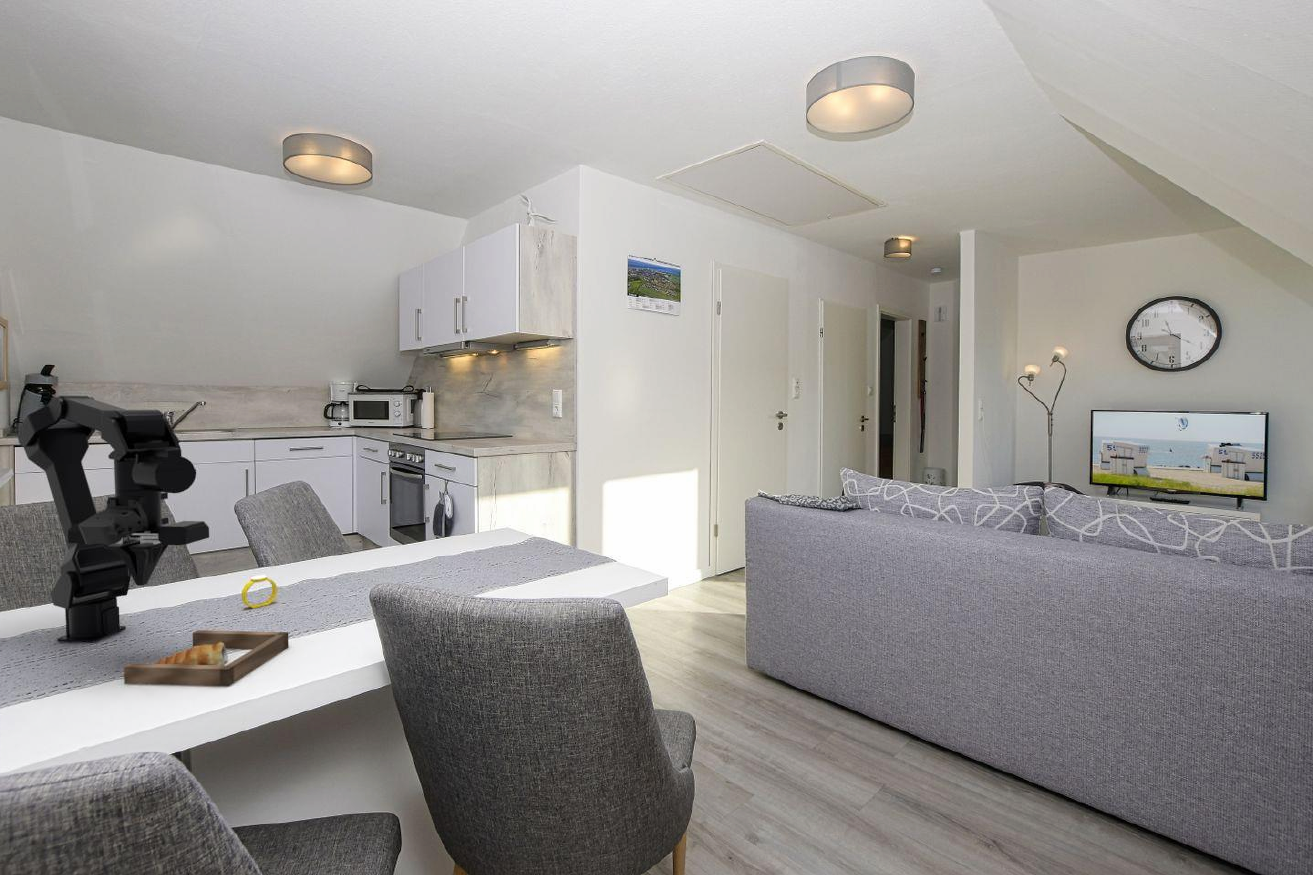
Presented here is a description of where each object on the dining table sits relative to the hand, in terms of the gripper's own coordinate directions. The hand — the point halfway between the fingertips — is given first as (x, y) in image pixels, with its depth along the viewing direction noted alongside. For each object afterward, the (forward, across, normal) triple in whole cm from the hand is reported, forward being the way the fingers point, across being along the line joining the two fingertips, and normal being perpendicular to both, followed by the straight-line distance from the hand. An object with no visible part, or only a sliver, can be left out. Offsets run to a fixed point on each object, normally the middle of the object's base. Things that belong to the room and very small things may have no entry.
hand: (141, 584), depth 102 cm
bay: (+11, +14, -4) cm, 19 cm away
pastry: (+12, +13, -6) cm, 18 cm away
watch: (+11, +4, +23) cm, 26 cm away
